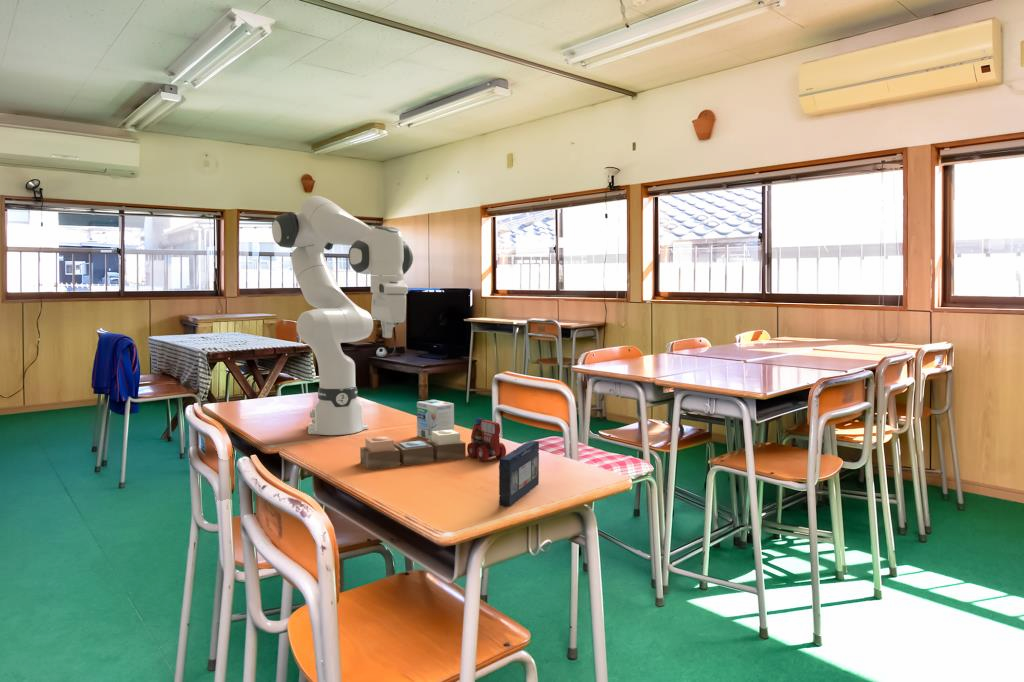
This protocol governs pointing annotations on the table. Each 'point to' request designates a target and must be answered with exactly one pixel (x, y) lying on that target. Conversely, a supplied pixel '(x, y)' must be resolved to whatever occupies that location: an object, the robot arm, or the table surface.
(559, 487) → the table surface
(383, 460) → the walnut bases
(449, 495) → the table surface
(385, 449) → the terracotta block
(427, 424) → the light bulb box
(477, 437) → the toy fire truck
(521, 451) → the vhs cassette tape
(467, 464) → the table surface
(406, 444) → the slate block
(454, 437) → the cream block
